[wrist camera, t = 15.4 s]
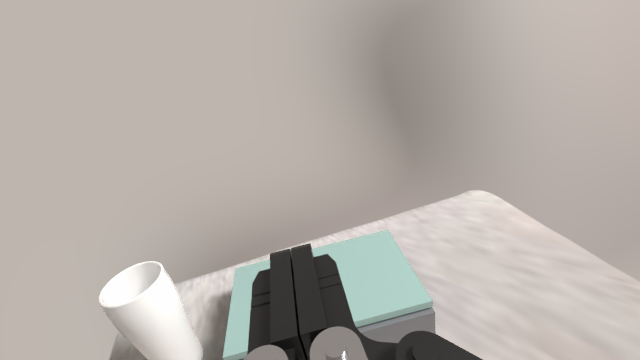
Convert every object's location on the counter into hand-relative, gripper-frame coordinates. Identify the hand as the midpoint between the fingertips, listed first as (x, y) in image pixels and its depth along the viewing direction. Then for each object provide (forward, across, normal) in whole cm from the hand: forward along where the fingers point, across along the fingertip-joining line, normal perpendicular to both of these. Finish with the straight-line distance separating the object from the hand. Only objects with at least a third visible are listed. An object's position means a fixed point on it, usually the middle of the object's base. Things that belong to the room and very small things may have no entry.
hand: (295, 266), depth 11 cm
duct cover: (+21, 0, +23) cm, 31 cm away
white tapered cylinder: (+19, +20, +28) cm, 39 cm away
